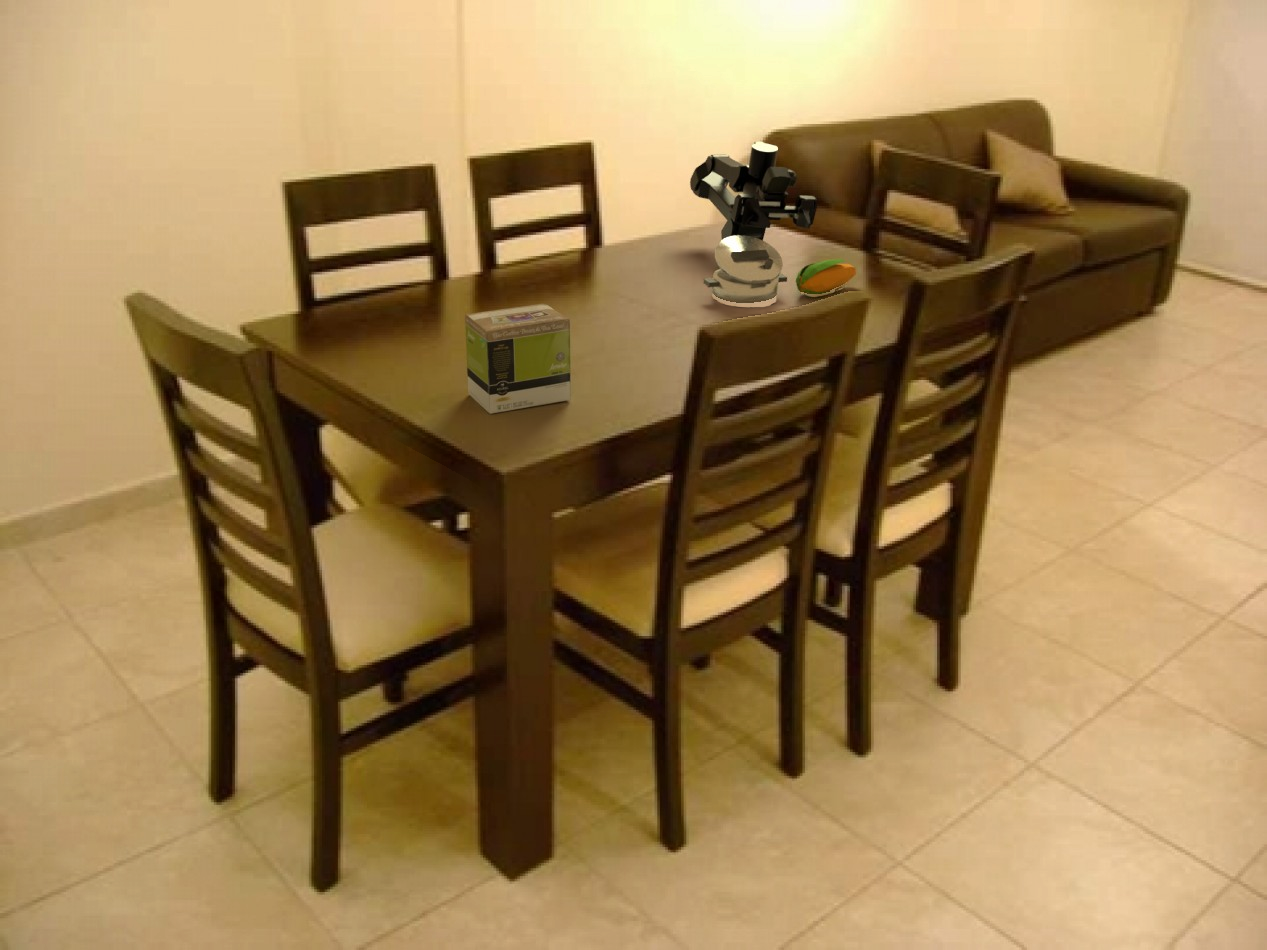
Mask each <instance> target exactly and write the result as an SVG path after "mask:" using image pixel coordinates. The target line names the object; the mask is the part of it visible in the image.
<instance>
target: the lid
mask: <svg viewBox="0 0 1267 950" xmlns="http://www.w3.org/2000/svg"><path fill="white" fill-rule="evenodd" d="M714 259H715V262H716V264H717V266H718V267H719V269H721V270H722V271H723V272H725V273H726V274H727V275H729V276H730V277H732V278H734V279H736V280H738V281H741V282H745V283H750V284H752V285H762V284H770V283H771V281H773V280H775V279H776V278H777V277H778V276H779V274H780V273H781V272H782V269H783V259H782V256H781V254H780V253H779V252H778V250H777V249H776V248H775V247H773V246H772V245H771V244H770V243H768V242H766V241H764V239H763V240H760V239H758V238H755V237H751V236H743V235H737V236H730V237H727V238H725V239H723V240H722V239H721V241H720V242H719V243H718V244H717V245H716V248H715V251H714Z"/></svg>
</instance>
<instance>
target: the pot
mask: <svg viewBox="0 0 1267 950" xmlns="http://www.w3.org/2000/svg"><path fill="white" fill-rule="evenodd" d="M712 274H713V275H712V277H709V278H707V277H706V278H703V284H704V285H705V286H707V287H708V288H712V289H711V294H712V293H713V294H714V295H715V296H716V297H718V298H720V299H723V300H726V301H730V302H736V303H754V302H761V301H766V300H769V299H772V298H774V297H775V296H776V295H777V296H778V292H779V291H778V289H779V288H778V287H779V283H786V282H787V283H788V276H787V275H785V274H783V273H781V272H780V274H779V276H778V277H777V278H776V279H775V280H773V281H771V283H770V284H762V285H752V284H750V283H745V282H741V281H738V280H736V279H734V278H732V277H730V276H729V275H727V274H726V273H725V272H723V271H722V270H721V269H720V268H719V269H717V270H714V272H713V273H712Z"/></svg>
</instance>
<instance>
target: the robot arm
mask: <svg viewBox="0 0 1267 950" xmlns="http://www.w3.org/2000/svg"><path fill="white" fill-rule="evenodd" d="M778 149H779V148H778V146H777V145H773V144H771V143H770V144H769V143H765V142H764V141H754V143H753V144H752V145H751V150H750V155H749V156H750V157H749V163H748V164H742V163H741V162H739V161H737V160H735V159H733V158H732V157H730V155H727V154H725V153H724V154H710V155H708V156H707V158H706V159H705V161H704V162H702V163H701V164H700V165H698V166H697V167H696V168H695V169H694V170H693V173H692V174H691V177H690V182H689V185H690V190H691V191H692V193H693V194H694V195H695V196H696V197H698V198H701V199H704V200H705V199H706V200H708V201H710V202H711V203H712V205H713V206H714V207H715V208H716V209H717V210H718V211H719V213H720V214H721V215H722V216H723V217H724V218H725V219H726V222H725V224H724V226H723V227H722V228H721V232H720V234H721V241H722V240H723V239H725V238H727V237H730V236H737V235H743V236H751V237H755V238H758V239H760V240H763V241H764V237H765V233H766V230H767V229H770V228H771V225H772V224H771V221H781V218H787V219H789V218H791V219H792V223H793V224H794V225H795V227H797V228H803V229H807V230H809V229H810V228H811V226H812V225H813V224H814V220H815V217H816V213H817V208H818V205H819V201H818V199H817V198H816V197H815V196H814V195H798V196H797V197H796V199H795V200H796V201H795V204H794V205H786V200H788V197H789V193H788V192H787V190H788V189H789V188H794V187H795V185H796V182H797V180H798V176H797V174H796V172H795V171H794V170H792V168H787V167H783V166H776V163H777V157H778V156H777V155H778ZM727 186H728V187H729V188H730V189H731V190H732V192H734V193H738V194H737V195H736V196H735V195H734V194H733V193H732V192H731V191H730V190H729V188H727Z"/></svg>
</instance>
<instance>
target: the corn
mask: <svg viewBox="0 0 1267 950" xmlns="http://www.w3.org/2000/svg"><path fill="white" fill-rule="evenodd" d="M843 262H845V259H843V258H840V259H839V258H836V259H835V258H833V259H832V258H830V259H826V260H821V261H818V262H816V263H811V264H810V263H809V264H808V265H805V266H804V267H802V268H801V269H800V270H799V272H798V273H797V275H796V278H795V283H796V288H797V290H798V292H799V291H800V292H804V293H807V294H822V293H826V292H830V290H832V289H834V288H836V287H839V286H841V285H843V284H844V285H846V284H847V283H848V282H849V281H850V280H852V279H853V278H854V277H855V276H856V274H857V271H856V267H855V266H853V265H852V264H850V263H843ZM846 282H847V283H846ZM845 283H846V284H845ZM844 285H843V286H844ZM841 287H842V286H841ZM839 288H840V287H839ZM800 292H799V293H800Z"/></svg>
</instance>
